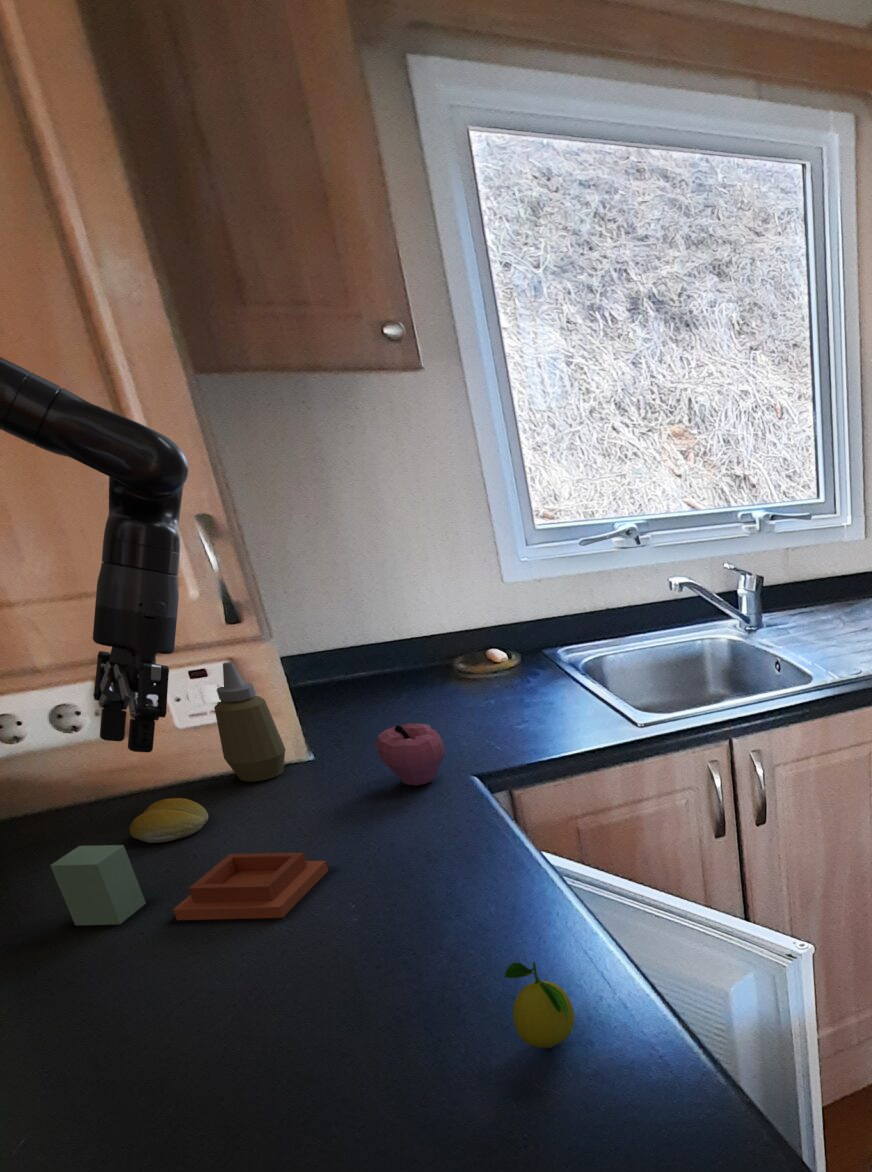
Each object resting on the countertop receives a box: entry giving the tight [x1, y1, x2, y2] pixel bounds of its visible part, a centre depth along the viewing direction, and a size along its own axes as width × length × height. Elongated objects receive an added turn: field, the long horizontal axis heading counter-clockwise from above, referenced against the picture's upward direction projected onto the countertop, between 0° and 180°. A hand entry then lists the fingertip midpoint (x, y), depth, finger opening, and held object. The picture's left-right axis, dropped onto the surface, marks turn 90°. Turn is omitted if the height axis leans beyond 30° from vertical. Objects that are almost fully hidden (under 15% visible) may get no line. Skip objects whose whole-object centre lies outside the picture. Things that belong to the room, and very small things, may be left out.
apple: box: [375, 722, 446, 787], centre depth 159 cm, size 10×9×10 cm
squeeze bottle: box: [213, 661, 286, 782], centre depth 159 cm, size 8×8×18 cm
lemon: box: [504, 960, 575, 1049], centre depth 102 cm, size 7×6×10 cm
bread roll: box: [129, 797, 209, 844], centre depth 144 cm, size 8×9×4 cm
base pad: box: [172, 852, 329, 921], centre depth 129 cm, size 12×12×4 cm
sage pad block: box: [49, 844, 147, 927], centre depth 123 cm, size 5×5×8 cm
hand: (125, 746), depth 124 cm, fingers open, 8 cm apart
